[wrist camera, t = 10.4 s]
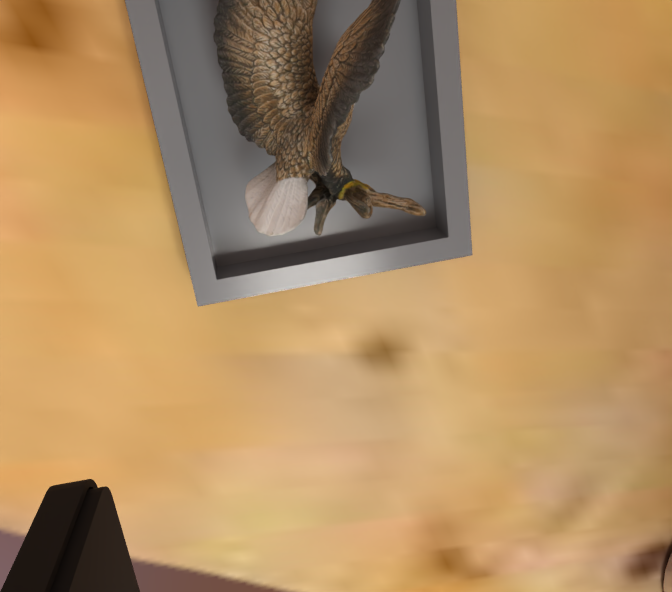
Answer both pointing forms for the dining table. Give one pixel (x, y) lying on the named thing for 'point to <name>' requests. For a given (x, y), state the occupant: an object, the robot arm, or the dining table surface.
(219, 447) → the dining table surface
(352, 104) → the eagle figurine
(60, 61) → the dining table surface
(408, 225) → the holder
